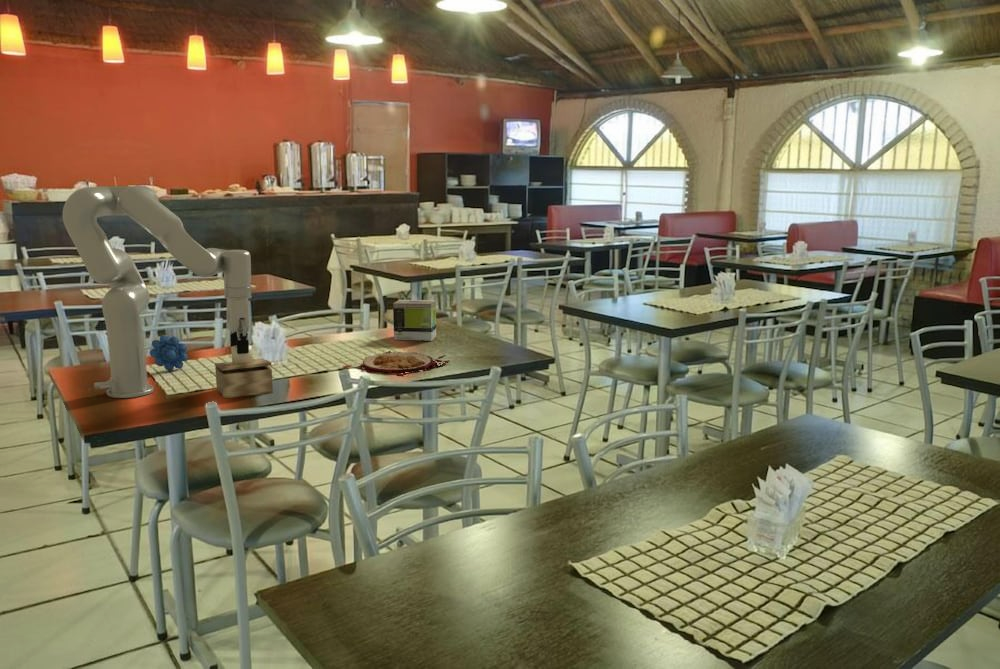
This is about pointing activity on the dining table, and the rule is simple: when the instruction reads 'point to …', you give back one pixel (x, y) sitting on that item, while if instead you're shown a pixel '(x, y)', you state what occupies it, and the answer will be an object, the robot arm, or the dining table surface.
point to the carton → (244, 381)
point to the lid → (232, 366)
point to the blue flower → (169, 352)
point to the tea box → (414, 320)
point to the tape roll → (242, 356)
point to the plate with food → (397, 362)
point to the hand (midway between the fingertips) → (239, 349)
